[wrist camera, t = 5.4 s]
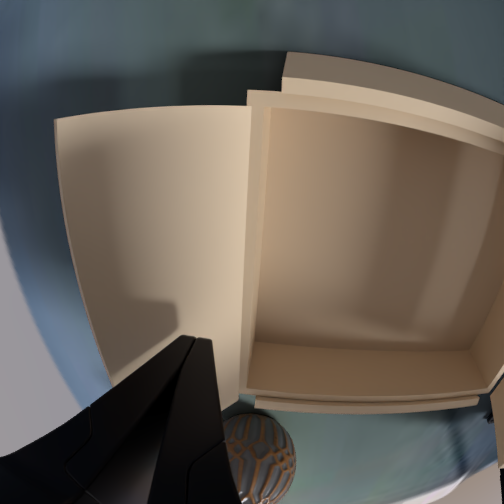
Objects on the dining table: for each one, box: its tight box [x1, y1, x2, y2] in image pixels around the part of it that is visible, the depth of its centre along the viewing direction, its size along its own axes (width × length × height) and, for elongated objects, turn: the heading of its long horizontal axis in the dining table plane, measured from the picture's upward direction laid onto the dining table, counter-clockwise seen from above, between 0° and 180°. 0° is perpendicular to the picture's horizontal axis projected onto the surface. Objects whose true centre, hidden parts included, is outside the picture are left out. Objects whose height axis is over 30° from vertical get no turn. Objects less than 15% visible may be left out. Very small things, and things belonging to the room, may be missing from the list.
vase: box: [223, 414, 296, 504], centre depth 18 cm, size 7×7×9 cm
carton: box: [239, 52, 504, 414], centre depth 12 cm, size 15×17×4 cm
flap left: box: [54, 105, 252, 411], centre depth 9 cm, size 1×12×5 cm
